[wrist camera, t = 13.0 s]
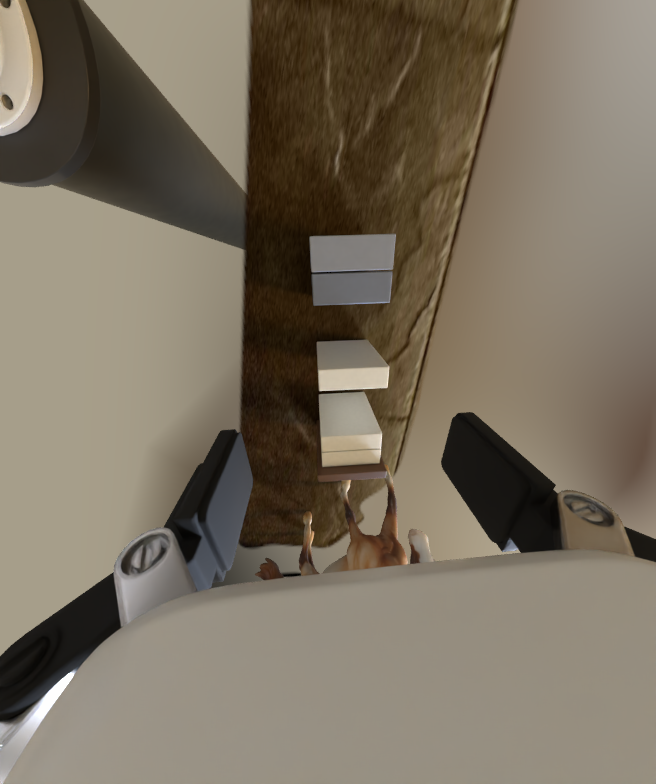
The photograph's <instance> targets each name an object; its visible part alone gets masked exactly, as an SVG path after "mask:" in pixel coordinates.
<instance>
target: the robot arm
mask: <svg viewBox="0 0 656 784" xmlns="http://www.w3.org/2000/svg"><path fill="white" fill-rule="evenodd" d="M42 86H43V66H42V55H41V50H40V46H39V41H38V36H37V32H36V29H35V26H34V23H33V20H32V17H31V14H30V11H29V8H28V5H27V3H26V1H25V0H0V136H5V135H8V134H11V133H15V132H17V131H19V130H20V129H21V128H23V127H24V126H26V125H27V124H28V123H29V121H30V120H31V119H32V117H33V116H34V114H35V113H36V111H37V108H38V105H39V102H40V99H41V95H42ZM441 464H442V468H443V470H444V471H445V473H446V474H447V475H448V477H449V479H450V480H451V482H452V483H453V485H454V486H455V488H456V489H457V491H458V492H459V494H460V495H461V497H462V498H463V500H464V501H465V502H466V504H467V506H468V507H469V509H470V510H471V512H472V513H473V515H474V516H475V517H476V519H477V520H478V522H479V523H480V525H481V526H482V528H483V529H484V531H485V532H486V534H487V535H488V537H489V538H490V539H491V540H492V541H493V542H494V543H496V544H497V545H498V547H499V548H500V549H501V551H502V552H506V551H516V550H517V548H518V549H519V551H520V552H521V553H515V554H505V555H495V556H485V557H476V558H466V559H456V560H445V561H435V562H426V563H416V564H407V565H397V566H388V567H379V568H369V569H360V570H351V571H342V572H333V573H324V574H315V575H306V576H297V577H288V578H279V579H272V580H264V581H257V582H249V583H242V584H234V585H228V586H222V587H217V588H211V586H212V582H221V581H223V580H224V577H225V573H226V570H230V569H231V567H232V564H233V560H234V556H235V552H236V548H237V544H238V540H239V536H240V532H241V528H242V525H243V521H244V517H245V513H246V509H247V505H248V501H249V497H250V493H251V489H252V485H253V477H252V473H251V469H250V465H249V461H248V457H247V454H246V450H245V446H244V442H243V438H242V435H241V433H240V432H239V433H237V431H236V430H235V429H234V430H222V431H220V433H219V434H218V436H217V438H216V440H215V442H214V444H213V446H212V447H211V449H210V451H209V453H208V455H207V457H206V459H205V460H204V463H202V464H200V465H198V467H197V468H196V470H195V472H194V474H193V476H192V477H191V479H190V481H189V483H188V484H187V486H186V488H185V490H184V492H183V494H182V495H181V497H180V499H179V501H178V502H177V504H176V506H175V508H174V510H173V511H172V513H171V515H170V517H169V519H168V520H167V522H166V524H165V526H164V528H155V529H152V530H149V531H147V532H145V533H143V534H141V535H140V536H138V537H137V538H135V539H134V540H132V541H131V542H130V543H129V544H128V545H127V546H126V547H125V548H124V549H123V551H122V552H121V553H120V555H119V556H118V558H117V560H116V562H115V565H114V572H113V573H112V574H110V575H109V576H107V577H106V578H104V579H103V580H102V581H100V582H99V583H97V584H96V585H95V586H93V587H92V588H90V589H89V590H88V591H86V592H85V593H83V594H82V595H80V596H79V597H77V598H76V599H75V600H73V601H72V602H70V603H69V604H68V605H66V606H65V607H63V608H62V609H60V610H59V611H58V612H56V613H55V614H53V615H52V616H51V617H49V618H48V619H46V620H45V621H43V622H42V623H40V624H39V625H38V626H36V627H35V628H34V629H32V630H31V631H29V632H28V633H26V634H25V635H24V636H23V637H21V638H20V639H19V640H17V641H16V642H15V643H14V644H13V645H11V646H10V647H9V648H8V649H7V650H6V651H5V652H4V653H3V654H2V655H1V656H0V784H656V539H654V538H651V537H649V536H646V535H644V534H641V533H639V532H636V531H634V530H632V529H629V528H627V527H624V526H623V523H622V521H621V519H620V518H619V516H618V515H617V514H616V513H615V512H614V511H613V510H612V509H611V508H610V507H608V506H607V505H606V504H604V503H603V502H601V501H599V500H597V499H596V498H594V497H592V496H590V495H587V494H585V493H582V492H578V491H573V490H564V491H561V492H559V493H556V492H555V491H554V490H553V489H554V487H555V486H556V485H555V484H554V483H553V482H552V481H551V480H550V479H548V478H547V477H546V476H545V475H544V474H543V473H541V472H540V471H539V470H538V469H537V468H536V467H535V466H534V465H532V464H531V463H530V462H529V461H528V460H527V459H525V458H524V457H523V456H522V455H521V454H520V453H519V452H517V451H516V450H515V449H514V448H513V447H512V446H510V445H509V444H508V443H507V442H506V441H505V440H504V439H503V438H501V437H500V436H499V435H498V434H497V433H496V432H494V431H493V430H492V429H491V428H490V427H489V426H488V425H487V424H485V423H484V422H483V421H482V420H481V419H480V418H479V417H477V416H476V415H475V414H474V413H471V412H467V413H458V414H457V415H456V416H455V417H453V419H452V422H451V426H450V430H449V434H448V437H447V441H446V445H445V450H444V453H443V457H442V461H441Z"/></svg>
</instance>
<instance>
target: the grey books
mask: <svg viewBox="0 0 656 784" xmlns="http://www.w3.org/2000/svg"><path fill="white" fill-rule="evenodd" d="M395 236H396V234H369V235H335V236H310V237H309V241H310V258H311V272H341V271H369V270H391V269H393V260H394V248H395ZM311 276H312V294H313V305H314V306H318V305H342V304H367V303H389V302H390V295H391V283H392V271H372V272H343V273H315V274H312V275H311Z"/></svg>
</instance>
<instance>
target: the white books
mask: <svg viewBox="0 0 656 784" xmlns="http://www.w3.org/2000/svg"><path fill="white" fill-rule="evenodd" d="M319 413H320V420H316V423H317V465H318V482H328V481H343V480H358V479H372V478H386V473H387V470H386V467H385V465H384V462H383V459H382V457H381V454H380V453H381V449H380V448H381V440H382V432H381V430H380V427H379V425H378V423H377V421H376V418H375V416H374V414H373V411H372V409H371V407H370V404H369V402H368V400H367V397H366V395H365V393H364V392H352V393H334V394H319Z"/></svg>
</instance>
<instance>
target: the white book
mask: <svg viewBox="0 0 656 784" xmlns="http://www.w3.org/2000/svg"><path fill="white" fill-rule="evenodd" d="M317 361H318V382H319V391H330V390H350V389H371V388H387V385H388V375H389V366H388V365H387V363H386V362H385V361H384V360H383V358H382V357H381V356H380V355H379V354H378V352H377V351H376V350H375V349H374V347H373V346H372V345H371V344H370V342H369V341H368V340H348V341H324V342H317Z"/></svg>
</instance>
